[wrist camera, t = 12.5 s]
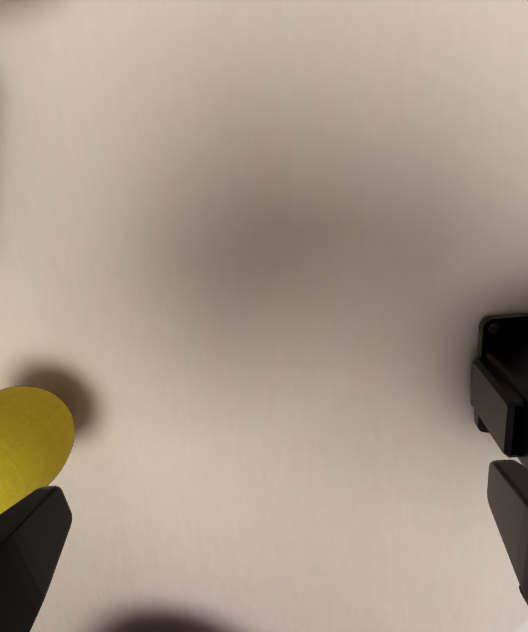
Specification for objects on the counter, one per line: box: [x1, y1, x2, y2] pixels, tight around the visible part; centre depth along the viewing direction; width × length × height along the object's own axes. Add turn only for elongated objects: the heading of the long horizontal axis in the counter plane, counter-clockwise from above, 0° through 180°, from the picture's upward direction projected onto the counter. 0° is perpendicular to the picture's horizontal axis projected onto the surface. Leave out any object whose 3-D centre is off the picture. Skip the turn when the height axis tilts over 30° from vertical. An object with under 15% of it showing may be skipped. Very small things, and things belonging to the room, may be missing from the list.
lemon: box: [0, 386, 75, 514], centre depth 21 cm, size 6×6×8 cm
